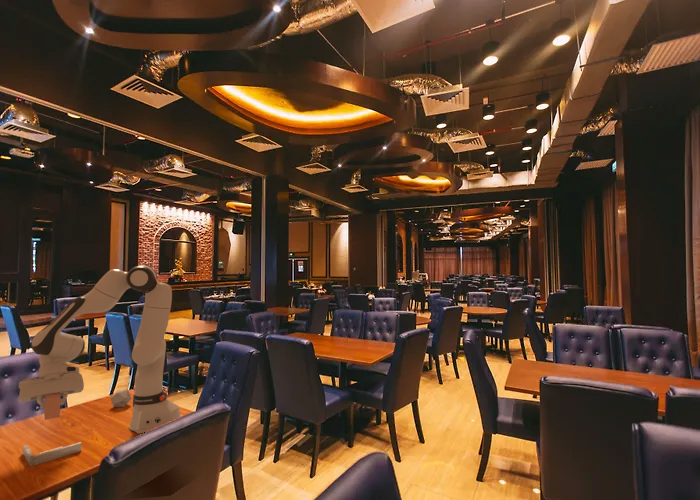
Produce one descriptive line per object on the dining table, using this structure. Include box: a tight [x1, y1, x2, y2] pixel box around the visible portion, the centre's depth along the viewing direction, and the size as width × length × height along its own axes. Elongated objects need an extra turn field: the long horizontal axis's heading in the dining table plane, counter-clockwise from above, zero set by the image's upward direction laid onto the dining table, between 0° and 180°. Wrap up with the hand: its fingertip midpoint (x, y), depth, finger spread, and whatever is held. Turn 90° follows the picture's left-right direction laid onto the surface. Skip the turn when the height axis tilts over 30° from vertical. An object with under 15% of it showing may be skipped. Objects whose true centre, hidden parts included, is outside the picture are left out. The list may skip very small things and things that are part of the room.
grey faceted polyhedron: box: [109, 389, 133, 408], centre depth 189 cm, size 8×9×10 cm
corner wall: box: [22, 441, 82, 467], centre depth 141 cm, size 14×15×3 cm
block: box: [43, 393, 62, 421], centre depth 145 cm, size 4×4×8 cm
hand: (52, 405), depth 145 cm, fingers closed on block, 4 cm apart
